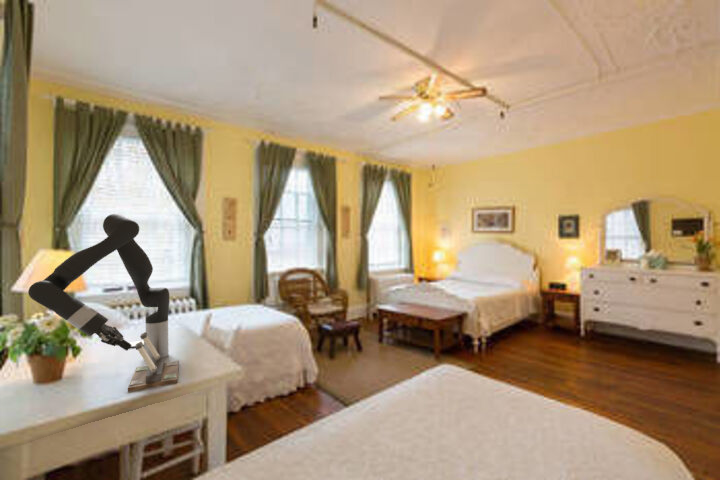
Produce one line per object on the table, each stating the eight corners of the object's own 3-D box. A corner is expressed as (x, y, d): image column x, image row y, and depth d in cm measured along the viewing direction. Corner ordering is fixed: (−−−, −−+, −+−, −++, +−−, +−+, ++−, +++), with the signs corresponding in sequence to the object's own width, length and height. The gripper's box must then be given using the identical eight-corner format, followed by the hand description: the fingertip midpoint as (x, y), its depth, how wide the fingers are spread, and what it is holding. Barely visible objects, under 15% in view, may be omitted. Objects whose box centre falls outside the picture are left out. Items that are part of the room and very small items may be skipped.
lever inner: (155, 361, 136) (140, 336, 133) (156, 358, 139) (141, 334, 137) (160, 359, 137) (144, 334, 134) (161, 356, 140) (145, 331, 137)
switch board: (127, 392, 119) (127, 380, 119) (136, 370, 137) (136, 360, 137) (177, 382, 126) (176, 371, 126) (179, 363, 145) (179, 354, 145)
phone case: (124, 350, 163) (160, 345, 171) (124, 347, 163) (160, 342, 171) (127, 345, 171) (162, 340, 179) (127, 342, 171) (162, 337, 179)
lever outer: (151, 374, 123) (134, 347, 121) (153, 370, 127) (136, 343, 124) (156, 371, 124) (139, 344, 122) (157, 367, 128) (141, 341, 125)
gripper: (91, 316, 111) (134, 345, 117) (101, 308, 123) (140, 335, 129) (72, 333, 109) (117, 362, 115) (84, 324, 121) (124, 350, 126)
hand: (129, 348), depth 122 cm, fingers closed
